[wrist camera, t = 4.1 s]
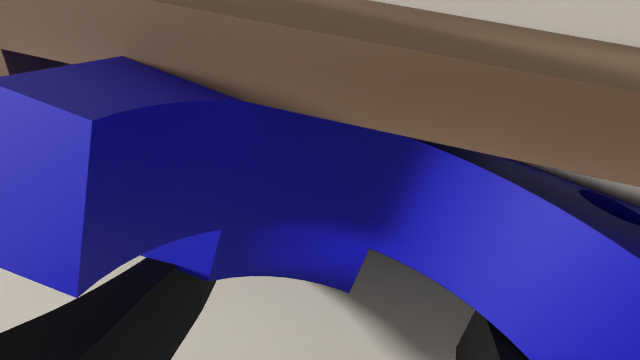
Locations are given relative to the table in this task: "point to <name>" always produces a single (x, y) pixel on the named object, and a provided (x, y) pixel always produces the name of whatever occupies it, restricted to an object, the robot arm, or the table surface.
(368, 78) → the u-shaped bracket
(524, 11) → the table surface
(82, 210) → the blue notched arch
